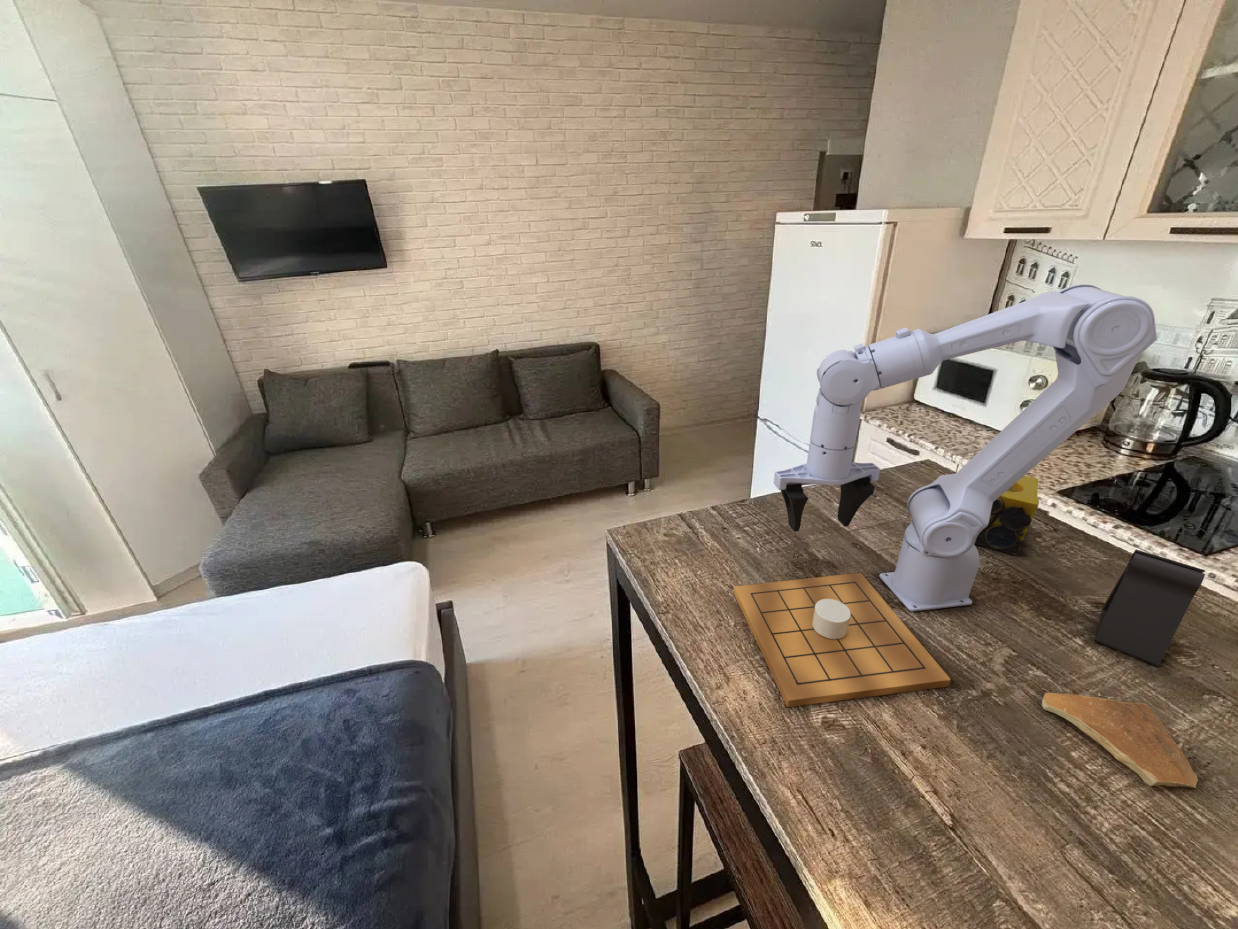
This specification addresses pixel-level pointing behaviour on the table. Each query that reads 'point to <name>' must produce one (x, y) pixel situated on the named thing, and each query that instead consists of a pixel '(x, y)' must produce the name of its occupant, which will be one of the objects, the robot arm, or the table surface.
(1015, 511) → the yellow cube with hollow
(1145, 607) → the phone stand
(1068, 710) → the pottery shard
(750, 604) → the game board
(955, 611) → the table surface
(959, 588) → the robot arm
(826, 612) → the white stone
